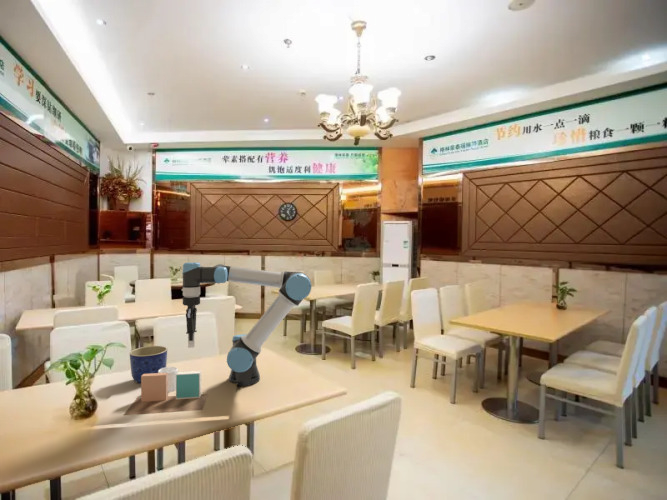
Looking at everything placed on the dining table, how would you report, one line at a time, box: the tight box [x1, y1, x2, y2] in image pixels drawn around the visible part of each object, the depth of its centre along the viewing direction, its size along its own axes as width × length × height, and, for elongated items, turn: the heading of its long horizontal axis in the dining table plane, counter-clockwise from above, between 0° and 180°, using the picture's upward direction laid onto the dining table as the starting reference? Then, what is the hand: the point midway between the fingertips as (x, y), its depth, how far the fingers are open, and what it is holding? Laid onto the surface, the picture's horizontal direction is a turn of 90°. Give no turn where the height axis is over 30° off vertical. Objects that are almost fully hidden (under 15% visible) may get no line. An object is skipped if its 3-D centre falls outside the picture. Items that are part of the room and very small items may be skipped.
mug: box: [158, 366, 179, 393], centre depth 173 cm, size 12×8×10 cm
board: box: [123, 393, 209, 416], centre depth 159 cm, size 30×16×1 cm, turn 100°
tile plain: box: [140, 373, 169, 402], centre depth 163 cm, size 10×3×11 cm, turn 100°
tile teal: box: [175, 370, 202, 399], centre depth 165 cm, size 10×3×11 cm, turn 100°
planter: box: [129, 345, 168, 384], centre depth 187 cm, size 17×17×15 cm
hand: (191, 347), depth 172 cm, fingers closed
